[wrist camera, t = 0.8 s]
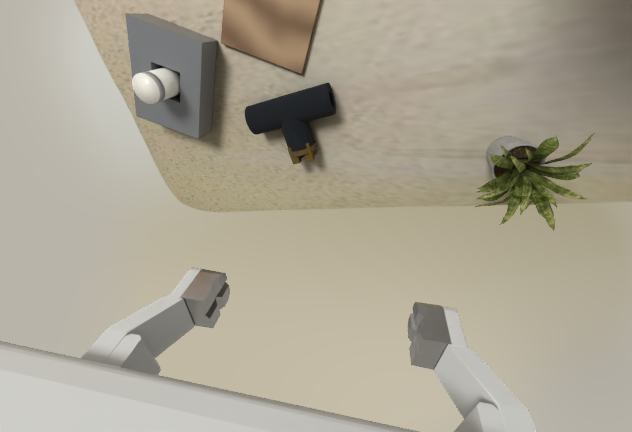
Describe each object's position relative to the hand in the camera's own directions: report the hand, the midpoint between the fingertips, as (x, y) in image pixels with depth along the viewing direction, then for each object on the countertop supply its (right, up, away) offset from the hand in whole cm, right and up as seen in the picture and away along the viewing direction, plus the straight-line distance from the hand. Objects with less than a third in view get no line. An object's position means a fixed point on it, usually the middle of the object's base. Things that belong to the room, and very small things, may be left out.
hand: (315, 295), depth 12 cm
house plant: (+32, +16, +35) cm, 50 cm away
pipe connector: (-3, +21, +40) cm, 45 cm away
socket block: (-24, +29, +38) cm, 54 cm away
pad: (-7, +35, +30) cm, 46 cm away
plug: (-24, +29, +38) cm, 54 cm away
